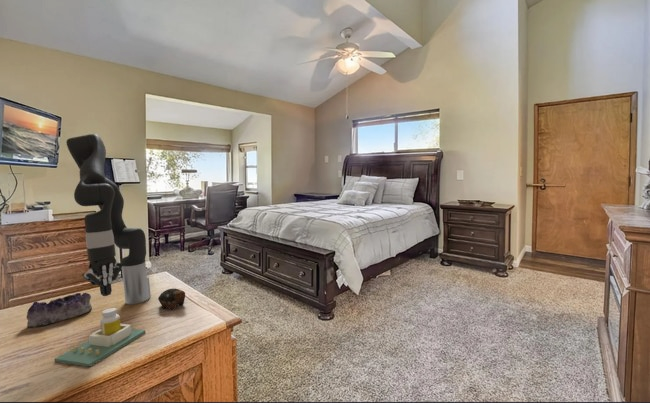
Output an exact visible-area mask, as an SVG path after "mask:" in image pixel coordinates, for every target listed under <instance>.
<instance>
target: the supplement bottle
mask: <svg viewBox="0 0 650 403" xmlns="http://www.w3.org/2000/svg"><path fill="white" fill-rule="evenodd" d="M117 312H118V311H117V308H116V307H110V308H107V309H104V310H103V311H101V314H102V318H101V319H100V329H101V331H102V335H105V336H110V335H112V334H114V333H116V332H117V331H119V330H121V325H120V324H121V318H120V315H119V314H118V313H117Z"/></svg>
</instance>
